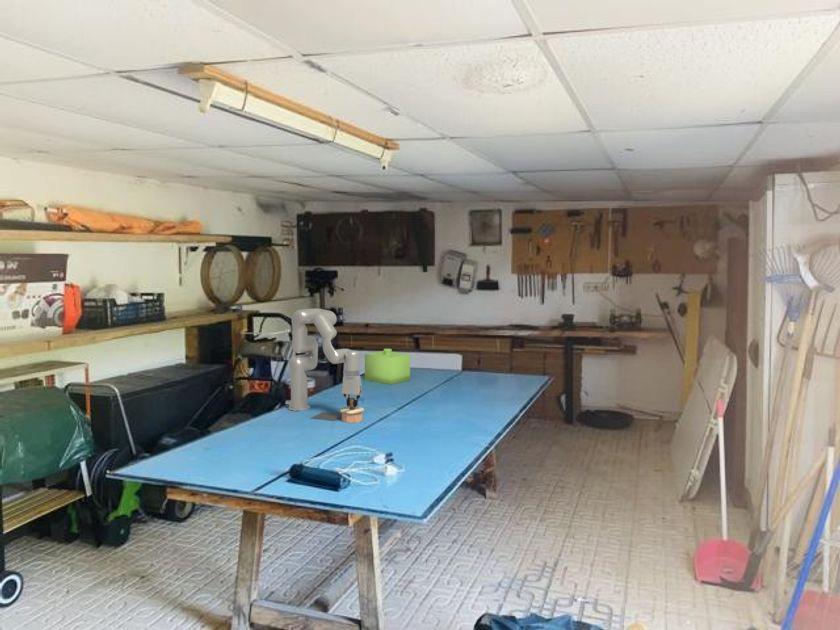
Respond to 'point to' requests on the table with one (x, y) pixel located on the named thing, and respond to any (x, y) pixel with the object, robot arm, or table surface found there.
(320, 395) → the table surface
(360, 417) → the bowl
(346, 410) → the lid
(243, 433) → the table surface
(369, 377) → the canister
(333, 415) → the mat
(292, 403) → the robot arm
